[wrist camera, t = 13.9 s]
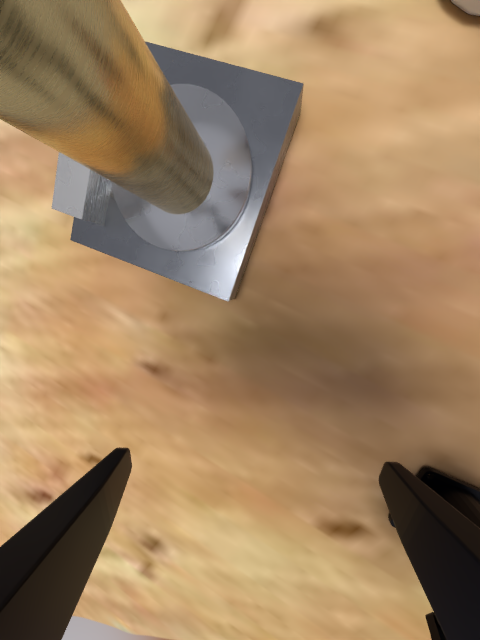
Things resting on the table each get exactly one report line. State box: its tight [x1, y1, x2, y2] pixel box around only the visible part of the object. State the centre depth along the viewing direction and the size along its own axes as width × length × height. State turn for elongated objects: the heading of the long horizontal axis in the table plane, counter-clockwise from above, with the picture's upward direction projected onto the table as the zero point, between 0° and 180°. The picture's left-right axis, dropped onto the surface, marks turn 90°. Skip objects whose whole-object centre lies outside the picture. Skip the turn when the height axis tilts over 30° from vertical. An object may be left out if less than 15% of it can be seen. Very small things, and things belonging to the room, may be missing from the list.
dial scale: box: [52, 42, 303, 301], centre depth 16 cm, size 14×14×4 cm
